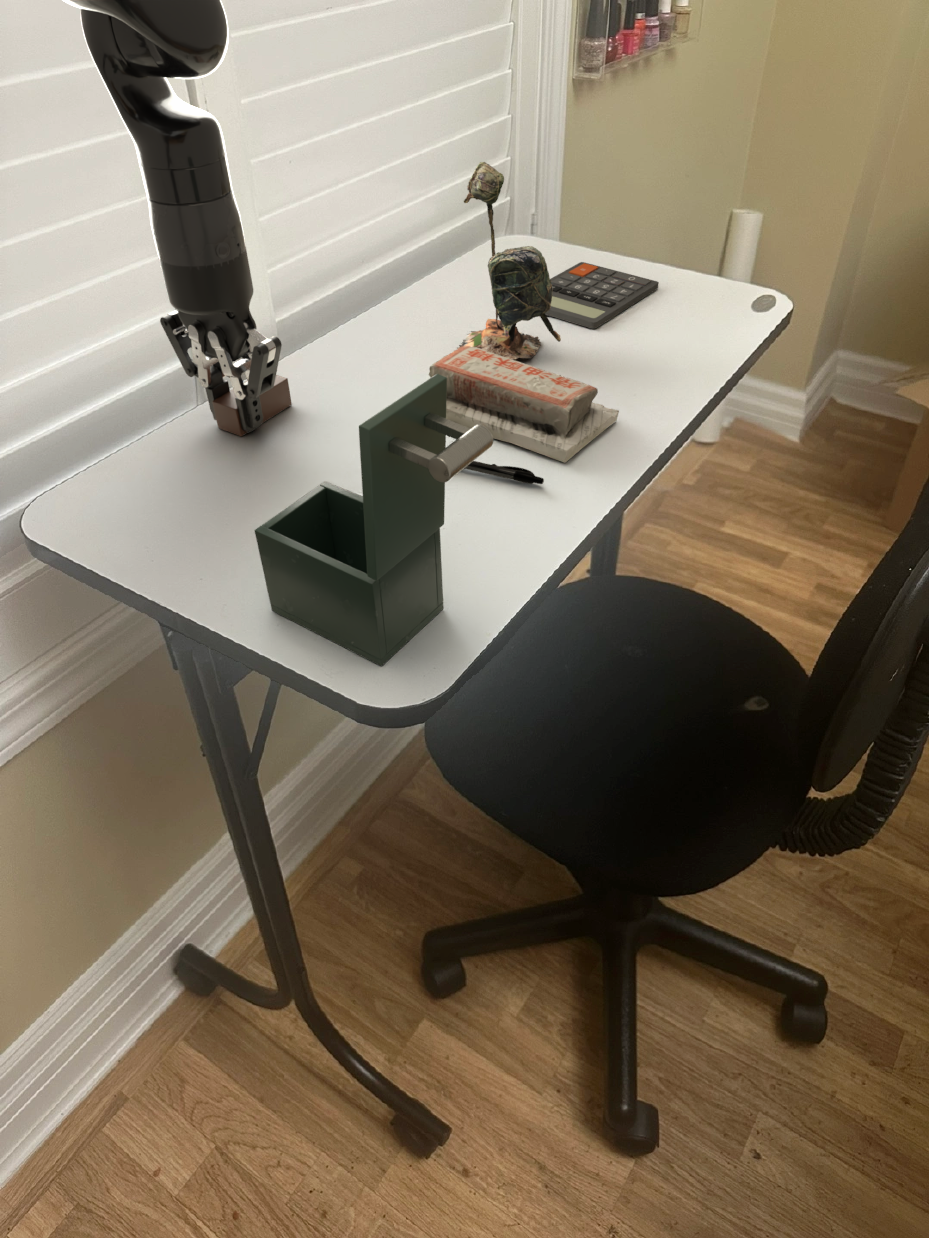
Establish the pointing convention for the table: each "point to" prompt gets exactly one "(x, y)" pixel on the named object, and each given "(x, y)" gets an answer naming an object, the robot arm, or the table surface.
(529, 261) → the plant with pod
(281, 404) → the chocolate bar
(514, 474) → the pen
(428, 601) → the green storage bin
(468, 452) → the bin lid
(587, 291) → the calculator
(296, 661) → the table surface
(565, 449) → the packaged product
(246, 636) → the table surface
